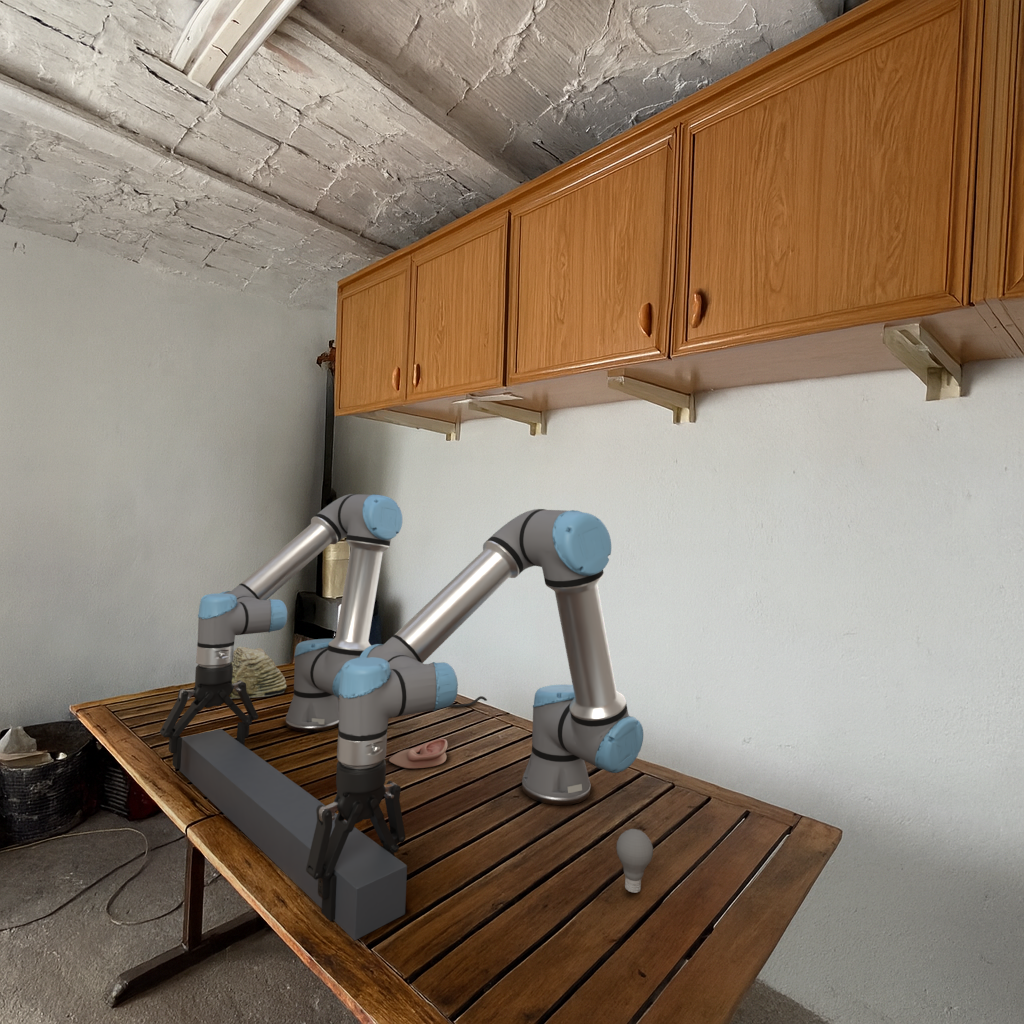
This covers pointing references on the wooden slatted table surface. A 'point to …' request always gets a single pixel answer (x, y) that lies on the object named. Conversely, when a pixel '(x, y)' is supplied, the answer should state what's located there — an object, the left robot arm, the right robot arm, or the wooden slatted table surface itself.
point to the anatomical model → (422, 755)
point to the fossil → (256, 673)
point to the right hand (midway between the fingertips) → (356, 902)
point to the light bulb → (634, 857)
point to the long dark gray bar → (294, 830)
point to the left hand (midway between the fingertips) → (209, 759)
